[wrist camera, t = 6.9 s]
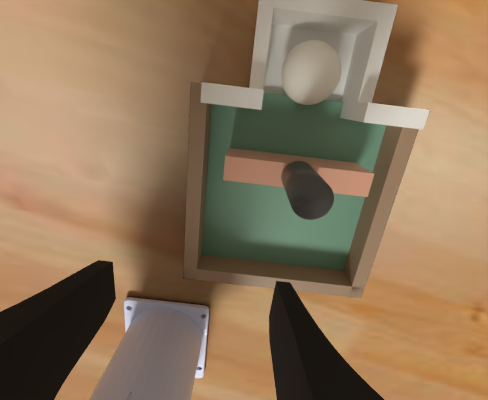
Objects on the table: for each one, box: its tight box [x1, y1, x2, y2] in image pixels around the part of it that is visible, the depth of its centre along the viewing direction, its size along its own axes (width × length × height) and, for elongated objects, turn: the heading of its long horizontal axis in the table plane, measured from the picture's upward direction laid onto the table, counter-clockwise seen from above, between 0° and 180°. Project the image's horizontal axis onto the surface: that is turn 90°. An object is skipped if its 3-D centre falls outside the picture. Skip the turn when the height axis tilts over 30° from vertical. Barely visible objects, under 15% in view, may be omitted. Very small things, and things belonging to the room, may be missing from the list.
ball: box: [281, 40, 341, 105], centre depth 16 cm, size 4×4×4 cm
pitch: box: [183, 0, 430, 298], centre depth 18 cm, size 19×14×5 cm
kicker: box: [223, 148, 374, 220], centre depth 15 cm, size 2×9×7 cm, turn 83°
